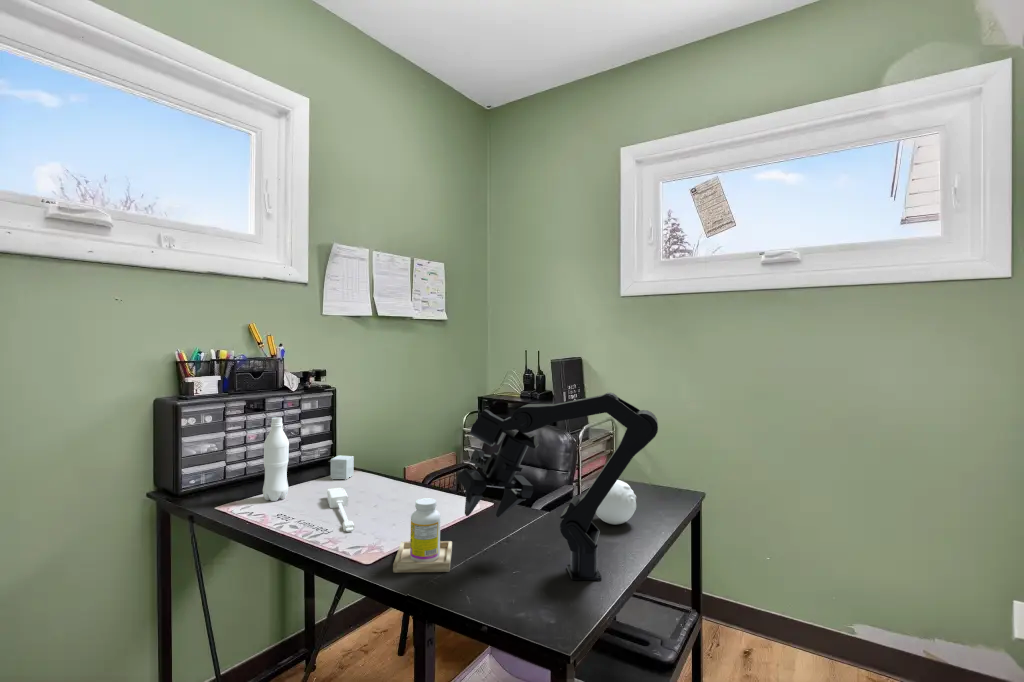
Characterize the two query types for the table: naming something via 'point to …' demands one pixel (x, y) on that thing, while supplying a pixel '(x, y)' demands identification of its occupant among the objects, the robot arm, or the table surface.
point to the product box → (342, 467)
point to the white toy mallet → (340, 505)
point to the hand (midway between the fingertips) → (482, 515)
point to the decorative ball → (617, 504)
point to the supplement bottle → (425, 531)
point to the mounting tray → (408, 565)
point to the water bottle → (276, 462)
